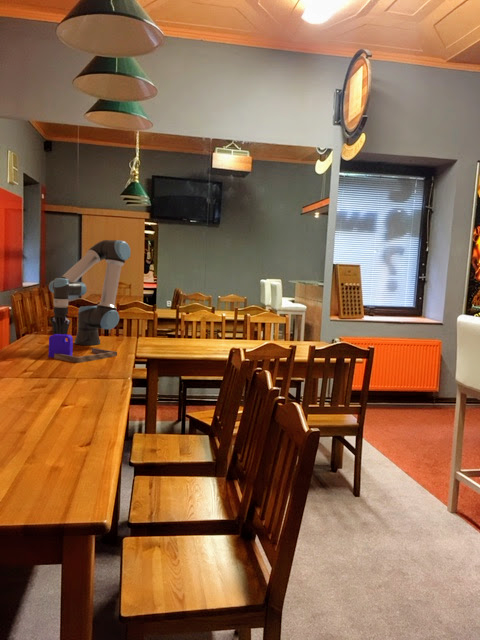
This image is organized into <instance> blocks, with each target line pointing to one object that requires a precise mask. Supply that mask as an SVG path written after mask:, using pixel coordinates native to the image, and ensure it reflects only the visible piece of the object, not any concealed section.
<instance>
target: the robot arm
mask: <svg viewBox="0 0 480 640" xmlns="http://www.w3.org/2000/svg"><path fill="white" fill-rule="evenodd" d="M131 253H132V251H131V247H130V246H129V244H128V243H127V241H125V240H120V239H118V240H115V239H112V240H111V239H104V240H100V241H99V242H96V243H95V244H94V245H92V246H91V247H90V248H89V249H88V250H87V251H86V254H85V255H84V256H83V257H82V258H81V259H79V260H78V261H77V262H76V263H75V264H74V265H73V266H72V267H70V268H69V269H68V270H67V271H66V272H65V273H64V274H63V275H61V277H56V278H54V280H51V281H50V282H49V284H48V290H49V291H50V292H51V293H52V294H53V309H52V310H53V312H52V313H53V314H54V315H53V317H52V318H50V321H51V326H52V331H53V334H52V335H54V334H65V335H68V332H69V326H70V324H71V320H69V318H68V316H67V315H68V314H69V307H68V306H69V296H74V297H75V296H76V297H77V296H78V297H79V296H84V295H85V294H86V293H87V284H85V283H84V282H81V281H78V280H80V278H81V277H83V276H84V275H85V274H86V273H87V272H88V271H90V269H91V268H92V267H93V266H94V265H96V264H98V263H100V262H102V261H103V260H104V261H105V263H106V269H105V274H104V280H103V285H102V291H101V296H100V297H101V298H100V300H99V301H100V302H98V304H97V305H86V306H80V307H79V308H78V313H77V333H76V335H75V338H74V344H75V345H80V346H96V345H100V344H101V339H100V336H99V331H98V330H99V329H103V330H112V329H113V330H114V328H116V326H118V323H119V321H120V315H119V312H118V311H117V309H118V308H117V307H116V299H117V294H118V288H119V283H120V276H121V273H122V272H121V271H122V267H123V266H124V265H125V264H126V261H127V260H128V259H130V257H131Z"/></svg>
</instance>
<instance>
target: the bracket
mask: <svg viewBox="0 0 480 640" xmlns="http://www.w3.org/2000/svg"><path fill="white" fill-rule="evenodd" d="M66 339H67V340H66ZM73 340H74V338H73V336H72V334H67V335H65V334H52V335H50V336H49V337H48V358H54V354H56V353H59V354H65V355H70V356H73V350H74V349H73V347H74V341H73Z"/></svg>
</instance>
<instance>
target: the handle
mask: <svg viewBox="0 0 480 640" xmlns="http://www.w3.org/2000/svg"><path fill="white" fill-rule="evenodd" d="M91 353H93V354H89V355H83V356H82V355H81V356H75V355H72V356H70V355H65V354H59V353H56V354H54V357H53V358H54V359H55V360H61V361H66V362H71V363H76V364H79V363H85V362H86V363H87V362H92V361H96V360H104V359H108V358H112V357H118V351H115V350H108V349H102V348H96V347H93V348H91Z"/></svg>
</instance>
